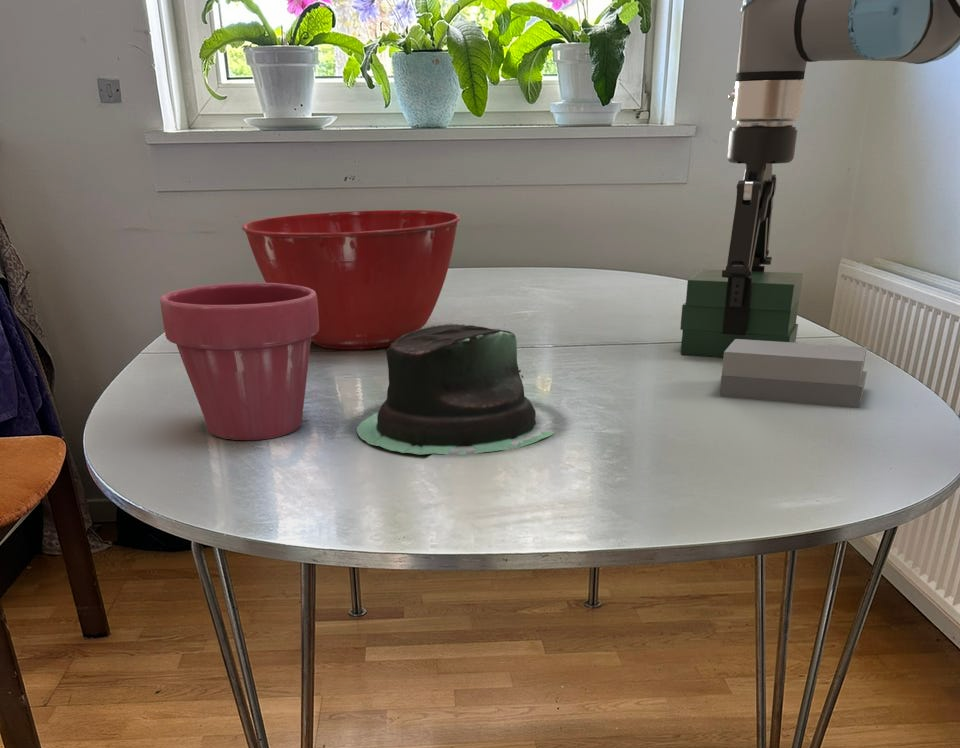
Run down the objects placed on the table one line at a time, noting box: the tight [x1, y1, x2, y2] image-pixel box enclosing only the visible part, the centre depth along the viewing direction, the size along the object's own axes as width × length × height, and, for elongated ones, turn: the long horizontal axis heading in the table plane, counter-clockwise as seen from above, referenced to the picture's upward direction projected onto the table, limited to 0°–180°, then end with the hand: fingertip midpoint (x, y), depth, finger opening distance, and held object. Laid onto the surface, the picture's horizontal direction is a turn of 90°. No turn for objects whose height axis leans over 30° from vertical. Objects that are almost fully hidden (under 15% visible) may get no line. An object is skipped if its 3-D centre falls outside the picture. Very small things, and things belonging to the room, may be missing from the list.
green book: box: [685, 268, 804, 311], centre depth 117 cm, size 12×10×3 cm
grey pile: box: [718, 339, 868, 409], centre depth 100 cm, size 14×7×5 cm, turn 67°
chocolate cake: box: [356, 322, 555, 456], centre depth 91 cm, size 15×19×20 cm
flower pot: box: [159, 282, 319, 441], centre depth 91 cm, size 14×14×13 cm
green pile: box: [679, 299, 800, 358], centre depth 119 cm, size 13×8×6 cm, turn 67°
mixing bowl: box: [241, 209, 461, 350], centre depth 127 cm, size 28×28×16 cm
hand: (740, 326), depth 119 cm, fingers closed on green book, 9 cm apart
